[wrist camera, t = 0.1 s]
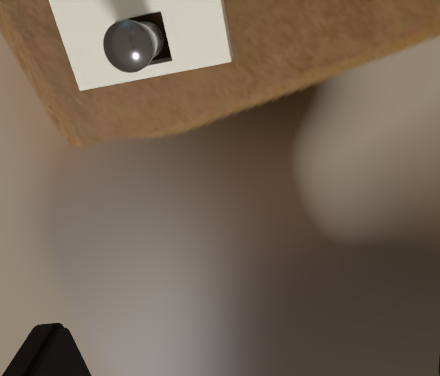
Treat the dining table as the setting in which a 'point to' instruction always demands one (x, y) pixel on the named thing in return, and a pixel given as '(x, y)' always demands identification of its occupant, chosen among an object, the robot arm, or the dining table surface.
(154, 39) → the dark capped shaker
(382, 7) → the dining table surface
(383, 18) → the dining table surface
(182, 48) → the housing
